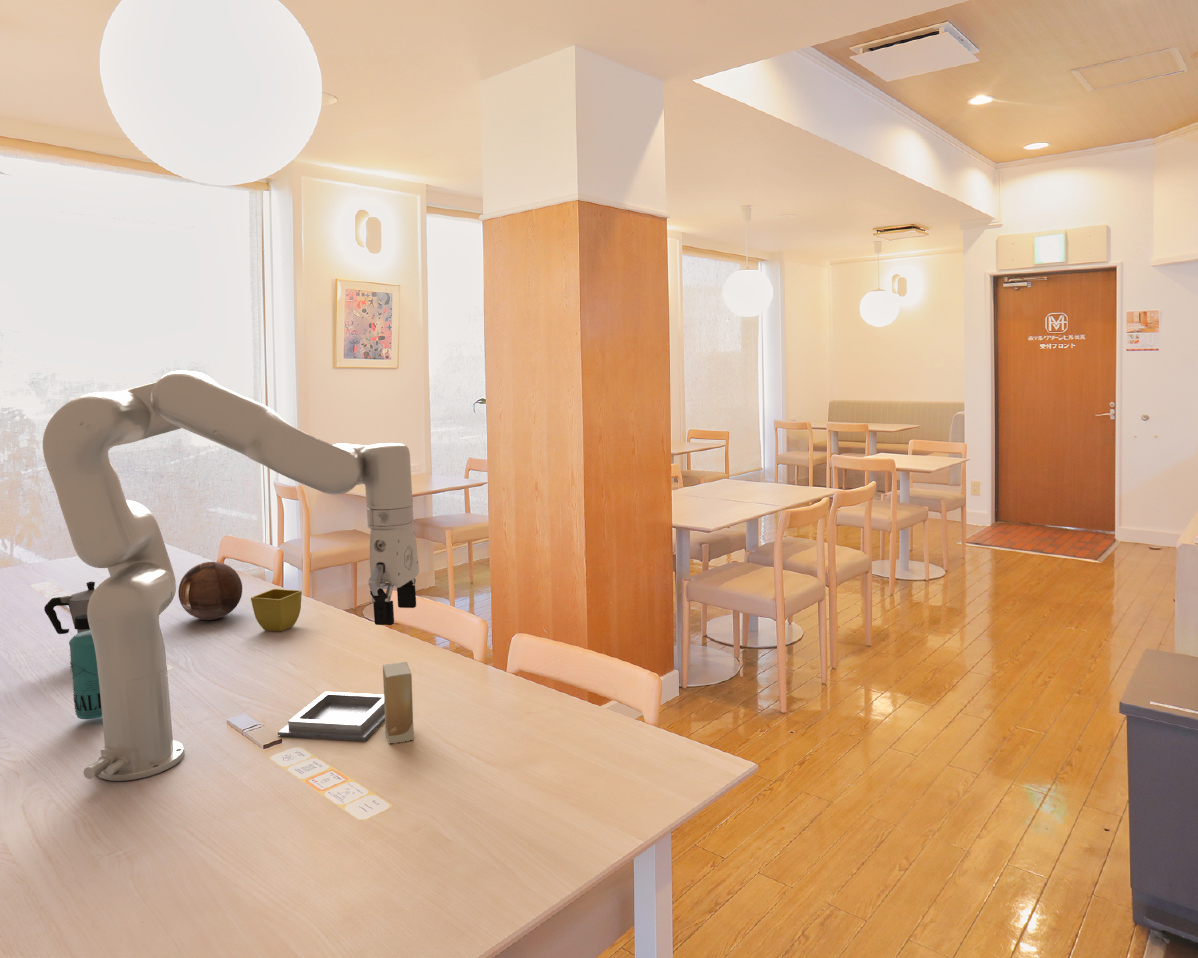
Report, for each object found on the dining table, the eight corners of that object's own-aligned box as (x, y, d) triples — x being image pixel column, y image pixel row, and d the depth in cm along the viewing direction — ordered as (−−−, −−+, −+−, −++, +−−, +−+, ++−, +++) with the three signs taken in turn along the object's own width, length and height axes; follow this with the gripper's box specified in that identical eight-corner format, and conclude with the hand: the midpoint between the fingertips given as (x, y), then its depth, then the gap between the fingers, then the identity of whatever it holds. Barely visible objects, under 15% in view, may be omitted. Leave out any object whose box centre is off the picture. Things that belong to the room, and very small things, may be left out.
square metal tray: (364, 741, 138) (364, 728, 137) (278, 736, 140) (277, 723, 140) (401, 704, 153) (400, 692, 153) (322, 700, 156) (322, 688, 155)
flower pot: (251, 632, 198) (249, 597, 197) (275, 622, 206) (273, 588, 205) (281, 635, 195) (279, 599, 194) (304, 624, 204) (302, 590, 203)
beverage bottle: (109, 709, 152) (99, 607, 150) (123, 719, 148) (113, 613, 145) (70, 721, 147) (59, 615, 145) (83, 731, 143) (73, 622, 140)
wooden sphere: (234, 606, 220) (231, 553, 219) (251, 619, 209) (247, 562, 207) (174, 617, 211) (170, 561, 209) (188, 631, 200) (184, 572, 198)
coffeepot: (127, 648, 187) (121, 573, 185) (135, 659, 180) (128, 580, 178) (48, 663, 177) (40, 584, 175) (52, 675, 170) (44, 593, 168)
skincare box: (384, 730, 142) (381, 663, 141) (409, 726, 144) (406, 660, 142) (388, 745, 136) (385, 676, 135) (414, 741, 138) (411, 672, 136)
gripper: (390, 526, 126) (397, 632, 128) (430, 508, 143) (434, 601, 145) (345, 526, 127) (352, 631, 129) (390, 508, 144) (395, 601, 146)
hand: (396, 615), depth 137 cm, fingers open, 9 cm apart
